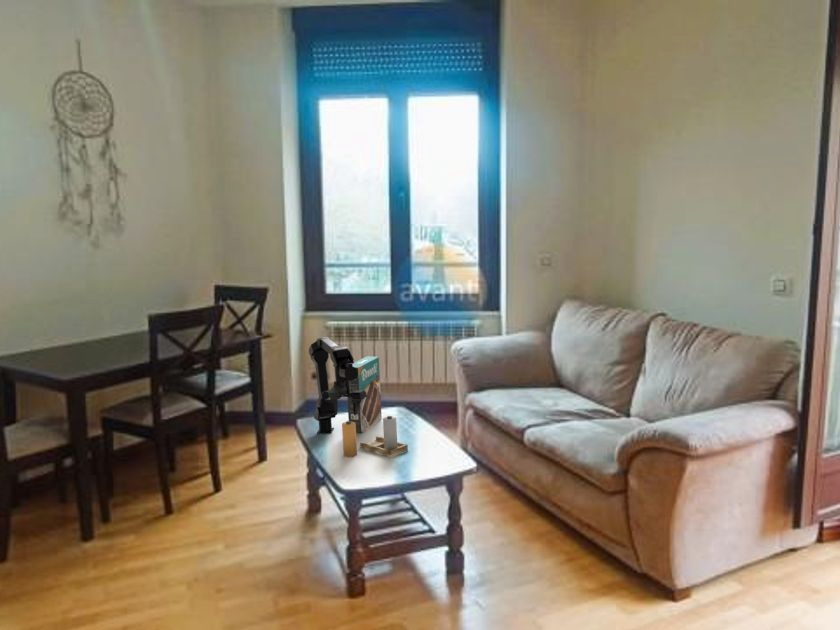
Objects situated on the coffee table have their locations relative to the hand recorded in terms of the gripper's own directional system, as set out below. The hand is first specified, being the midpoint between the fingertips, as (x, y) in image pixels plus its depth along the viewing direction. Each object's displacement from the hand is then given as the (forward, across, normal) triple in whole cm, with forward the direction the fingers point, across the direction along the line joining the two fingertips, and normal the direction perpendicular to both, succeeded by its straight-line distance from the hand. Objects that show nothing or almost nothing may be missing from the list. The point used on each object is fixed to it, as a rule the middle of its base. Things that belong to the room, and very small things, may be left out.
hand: (345, 415), depth 282 cm
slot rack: (+15, +14, +4) cm, 21 cm away
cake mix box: (+12, -8, +29) cm, 32 cm away
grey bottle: (+14, +19, +2) cm, 24 cm away
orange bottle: (+15, +4, -6) cm, 17 cm away
